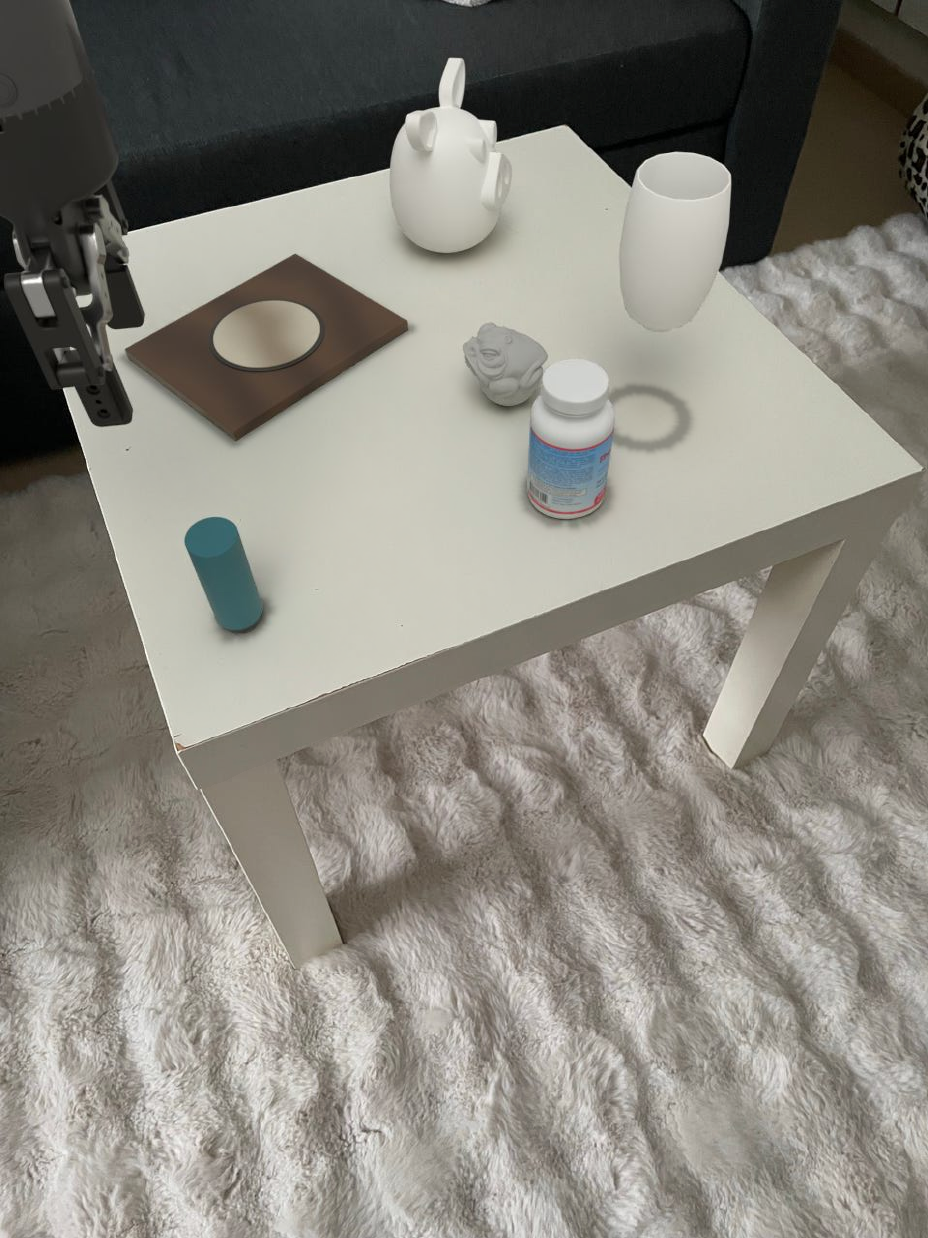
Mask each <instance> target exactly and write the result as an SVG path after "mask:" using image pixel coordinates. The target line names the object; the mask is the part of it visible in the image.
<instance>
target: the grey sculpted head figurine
mask: <svg viewBox="0 0 928 1238" xmlns="http://www.w3.org/2000/svg"><path fill="white" fill-rule="evenodd" d="M476 335H477V336H471V337H470V338H469V339H468V340H467V341H466V342H464V343H463V344H462V351H463V354H464V355H463V357H464V360H465V361H464V363H465V365H466V367H467V368H469V370H470V372H471V373H472V374H473V376H474V377H476V378H477V380H478V381H479V385H480V388H481V390H482V392H483V393H484V395H485V396H486V397H487V398H488V399H489V400H490V401H491V402H493V403H495V404H497V405H499V406H504V407H513V406H517V405H521V404H523V403H524V402H526V401H527V400H528V399H529V398H530V397H531V396H532V395H533V394H534V392H535V391H536V389H538V388H539V386H540V385H541V383H542V378H543V374H544V368H543V367H542V365H544V364H545V363H546V362H547V360H548V358H549V355H548V352H547V351H546V349H545V348H544V346H543V345H542V344H541V343H539V342H538V341H537V340H535V339H533V338H532V337H530V336H528V335H527V334H524V333H522V332H519V331H517V330H515V329H512V328H509V327H506V326H504V325H503V326H498V325H497V324H495V322H492V321H491V322H486V323H483V324H482V325H481V326H480V327H479V329H478V331H477V333H476Z"/></svg>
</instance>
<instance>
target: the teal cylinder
mask: <svg viewBox="0 0 928 1238" xmlns="http://www.w3.org/2000/svg"><path fill="white" fill-rule="evenodd" d="M183 542H184V546H185V549H186V551H187V553H188V556H189V558H190V561H191V564H192V566H193V568H194V570H195V573H196V576H197V577H198V580H199V582H200V585H201V587H202V590H203V592H204V594H205V597H206V600H207V601H208V604H209V607H210V609H211V611H212V614H213V616H214V618H215V620H216V622H217V624H218V625H219V626H221V627H223V628H224V629H226V630H228V631H229V632H230V633H234V634H245V633H248V632H251V631H252V630H254V629H255V628H256V627H257V626H258V624H259V623H260V620H261V616H262V614H263V611H264V604H263V600H262V597H261V595H260V592H259V589H258V586H257V584H256V579H255V577H254V573H253V571H252V568H251V565H250V562H249V560H248V556H247V554H246V551H245V547H244V544H243V542H242V538H241V536H240V532H239V530H238V527H237V525H236V523H234V522H233V521H231V520H230V519H228V518H226V517H222V516H209V517H205V518H202V519H200V520H197V521H196V522H195V523H193V524H192V525H191V526H190V527H188V529H187V531H186V533H185V535H184V541H183Z"/></svg>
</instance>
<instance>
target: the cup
mask: <svg viewBox="0 0 928 1238" xmlns="http://www.w3.org/2000/svg"><path fill="white" fill-rule="evenodd" d="M731 193H732V175H731V172H730V171H729V170H728V168H726V166H725V164H723V163H722V162H719V161H717V160H716V159H714V158H712V157H711V156H706V155H704V154H699V153H695V152H684V151H673V152H668V153H667V152H666V153H659V154H656V155H654V156H652V157H650V158H648V159H645V160H644V161H643V162H642V163H641V164H640V165H639V167H638V168H637V169H636V171H635V175H634V178H633V182H632V186H631V189H630V192H629V196H628V200H627V202H626V206H625V211H624V219H623V222H622V223H623V224H622V229H621V237H620V242H619V251H618V264H619V265H618V266H619V286H620V291H621V297H622V302H623V306H624V310H625V311H626V313H627V314H628V316H629V318H630V319H632V320H633V321H634V322H636V323H637V324H639V325H640V326H642V327H643V328H644V329H645V330H647V331H650V332H653V333H666V332H670V331H672V330H673V329H677V328H682V327H683V326H685V325H687V324H689V323H691V322H692V321H693V319H694V318H695V317H696V315H697V314H698V312H699V310H700V309H701V308H702V306H703V304H704V302H705V301H706V299H707V297H708V296H709V294H710V292H711V290H712V287H713V285H714V283H715V280H716V277H717V275H718V273H719V271H720V268H721V266H722V263H723V258H724V251H725V247H726V242H727V235H728V231H729V225H730V208H731V195H732V194H731Z"/></svg>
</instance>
